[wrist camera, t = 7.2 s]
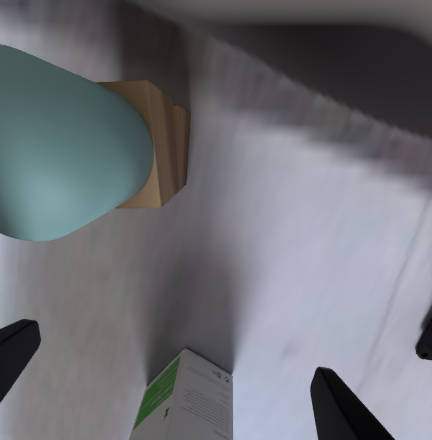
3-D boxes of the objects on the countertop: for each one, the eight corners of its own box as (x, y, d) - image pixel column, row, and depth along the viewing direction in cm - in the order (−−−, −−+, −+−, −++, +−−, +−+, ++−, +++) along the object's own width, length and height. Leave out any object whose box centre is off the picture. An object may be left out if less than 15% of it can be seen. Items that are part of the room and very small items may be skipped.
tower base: (190, 113, 16) (178, 105, 13) (186, 183, 18) (174, 195, 14) (121, 106, 17) (88, 95, 13) (122, 176, 18) (94, 185, 14)
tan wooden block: (172, 98, 13) (147, 80, 9) (179, 189, 14) (161, 207, 10) (83, 102, 13) (22, 86, 9) (100, 191, 14) (54, 209, 11)
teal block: (155, 91, 9) (98, 54, 5) (153, 210, 10) (108, 250, 7) (32, 78, 9) (-111, 32, 5) (48, 198, 11) (-54, 230, 7)
